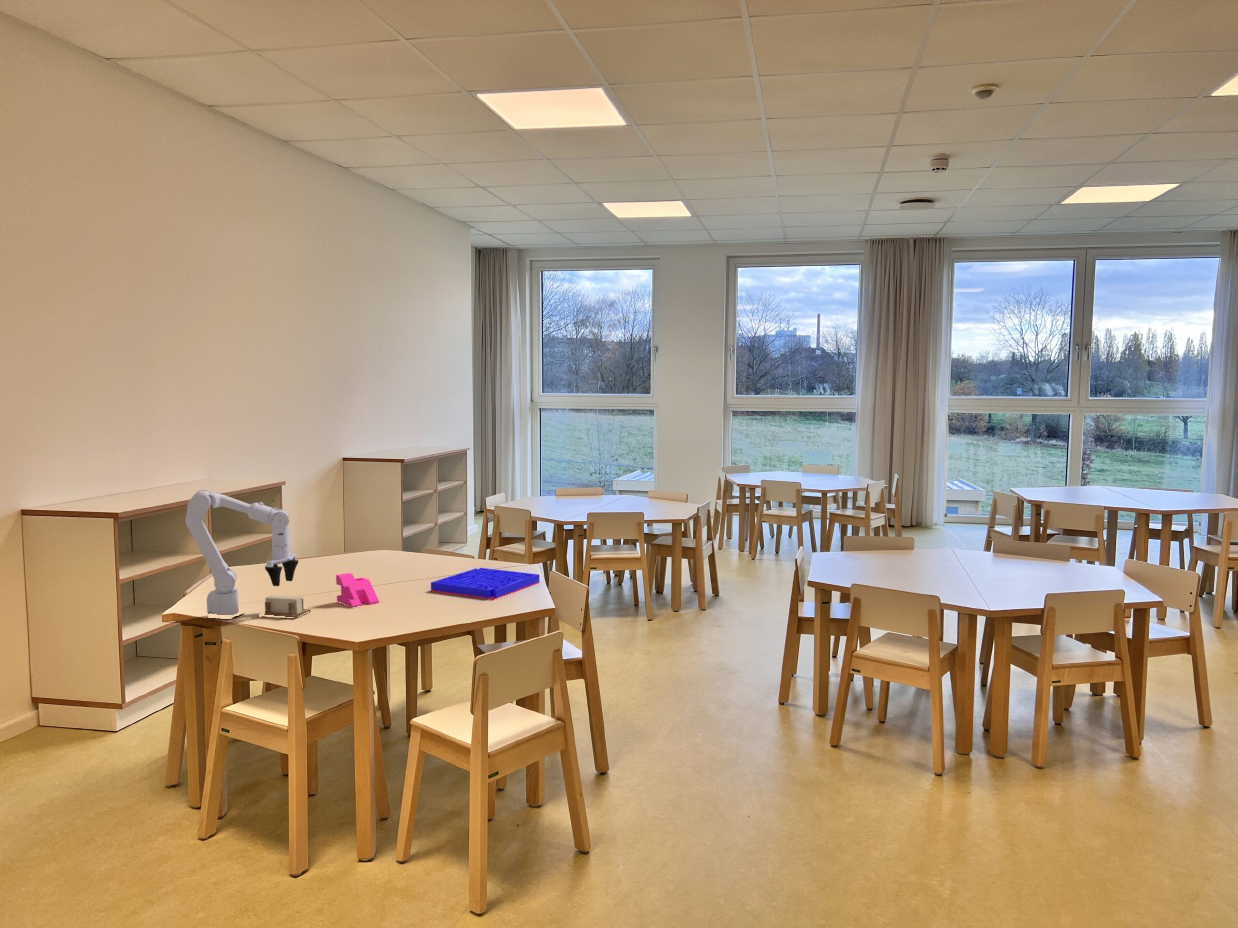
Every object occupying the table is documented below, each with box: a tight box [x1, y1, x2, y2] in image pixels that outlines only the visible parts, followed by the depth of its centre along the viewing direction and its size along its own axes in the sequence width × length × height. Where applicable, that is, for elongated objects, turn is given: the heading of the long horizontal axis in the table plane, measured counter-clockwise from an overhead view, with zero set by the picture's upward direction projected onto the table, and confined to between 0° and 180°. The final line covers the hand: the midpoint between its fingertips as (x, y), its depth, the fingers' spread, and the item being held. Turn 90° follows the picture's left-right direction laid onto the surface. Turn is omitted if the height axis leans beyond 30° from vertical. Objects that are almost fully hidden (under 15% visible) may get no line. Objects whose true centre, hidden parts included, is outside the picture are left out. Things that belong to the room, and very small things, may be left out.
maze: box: [430, 567, 540, 600], centre depth 324 cm, size 30×30×4 cm
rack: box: [264, 598, 311, 619], centre depth 286 cm, size 14×9×5 cm, turn 78°
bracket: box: [335, 572, 380, 608], centre depth 301 cm, size 12×10×10 cm
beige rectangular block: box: [265, 595, 303, 614], centre depth 286 cm, size 12×3×5 cm, turn 78°
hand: (282, 583), depth 289 cm, fingers open, 7 cm apart
